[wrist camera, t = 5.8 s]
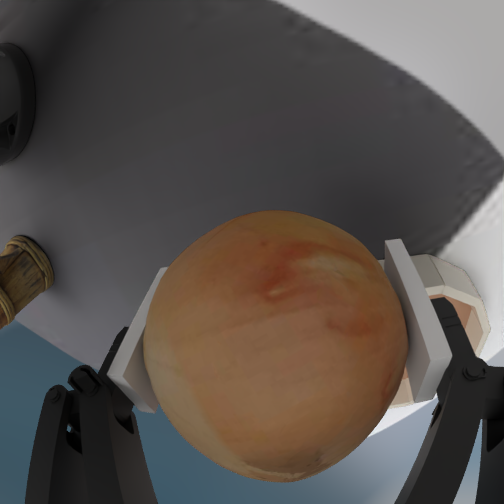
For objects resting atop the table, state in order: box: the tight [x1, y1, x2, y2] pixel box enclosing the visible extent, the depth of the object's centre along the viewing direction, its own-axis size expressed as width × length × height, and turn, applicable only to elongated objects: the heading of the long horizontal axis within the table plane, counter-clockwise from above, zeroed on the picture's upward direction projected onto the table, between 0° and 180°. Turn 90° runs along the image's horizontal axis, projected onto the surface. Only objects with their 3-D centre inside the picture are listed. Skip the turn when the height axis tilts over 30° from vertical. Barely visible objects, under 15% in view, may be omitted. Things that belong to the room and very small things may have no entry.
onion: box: [143, 210, 409, 482], centre depth 11 cm, size 10×10×10 cm
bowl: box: [378, 254, 490, 409], centre depth 32 cm, size 22×22×5 cm
